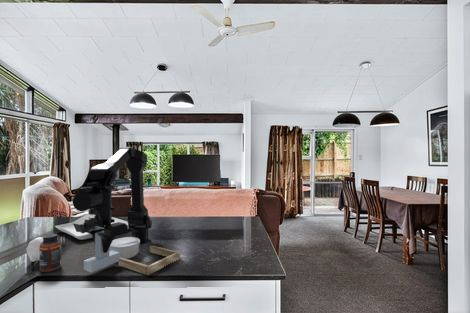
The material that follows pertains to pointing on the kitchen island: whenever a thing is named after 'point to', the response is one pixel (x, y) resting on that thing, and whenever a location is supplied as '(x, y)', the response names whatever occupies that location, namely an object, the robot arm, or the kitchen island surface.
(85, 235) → the square plate
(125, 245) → the ramekin
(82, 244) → the kitchen island surface
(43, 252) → the supplement bottle
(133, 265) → the oak corral
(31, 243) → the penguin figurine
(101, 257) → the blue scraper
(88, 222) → the robot arm
